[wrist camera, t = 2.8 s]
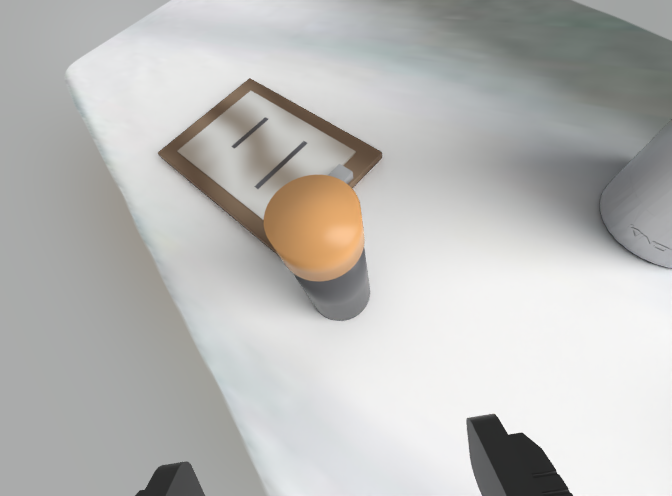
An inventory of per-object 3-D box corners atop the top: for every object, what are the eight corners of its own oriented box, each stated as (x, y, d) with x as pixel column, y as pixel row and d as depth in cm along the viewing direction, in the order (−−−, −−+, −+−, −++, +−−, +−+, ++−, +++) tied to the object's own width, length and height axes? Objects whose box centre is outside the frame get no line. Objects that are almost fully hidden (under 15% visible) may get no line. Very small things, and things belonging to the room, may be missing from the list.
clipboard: (252, 84, 41) (246, 70, 39) (382, 157, 33) (381, 144, 31) (161, 157, 37) (151, 146, 36) (282, 259, 30) (277, 250, 28)
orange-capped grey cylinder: (338, 253, 29) (310, 160, 19) (383, 287, 27) (381, 205, 17) (298, 296, 28) (244, 222, 17) (343, 335, 26) (313, 278, 15)
